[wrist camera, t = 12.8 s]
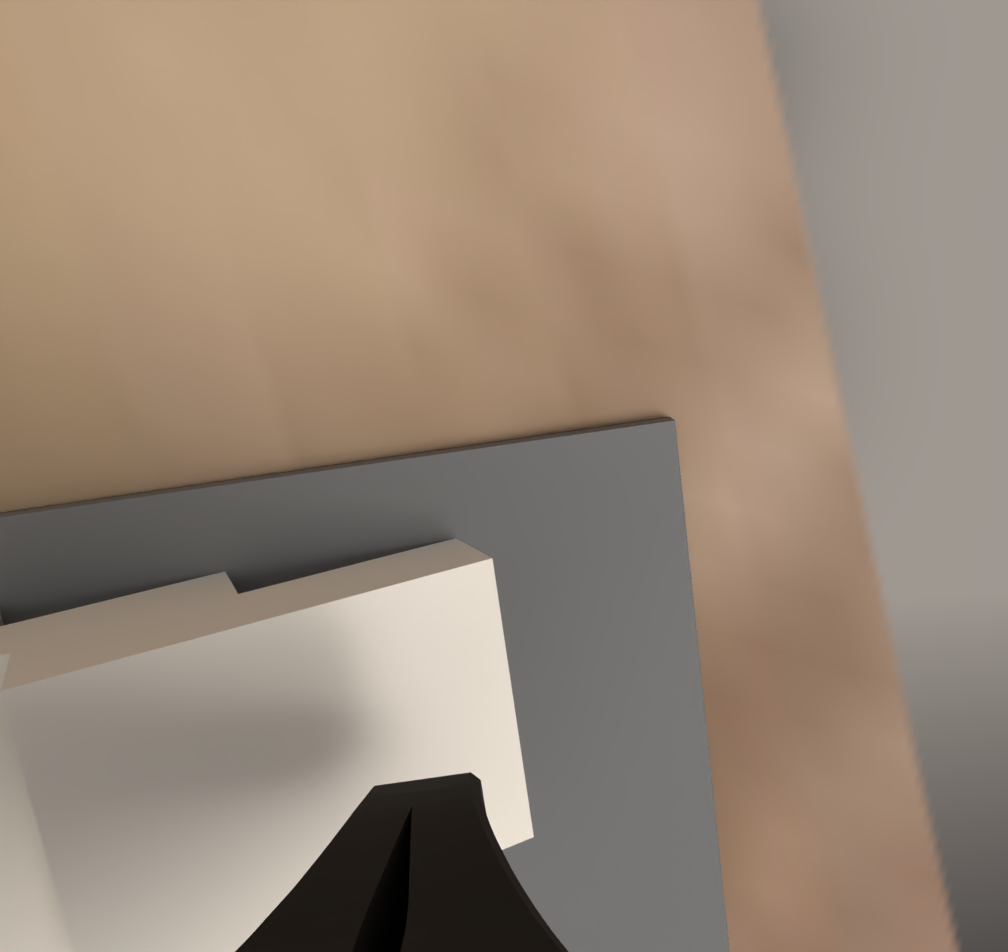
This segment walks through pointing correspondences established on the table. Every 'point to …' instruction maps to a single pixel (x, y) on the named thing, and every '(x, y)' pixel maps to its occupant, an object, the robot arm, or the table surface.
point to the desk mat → (526, 626)
